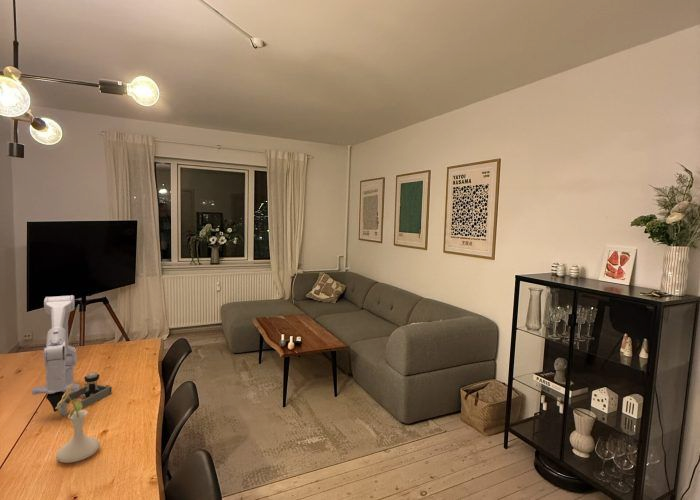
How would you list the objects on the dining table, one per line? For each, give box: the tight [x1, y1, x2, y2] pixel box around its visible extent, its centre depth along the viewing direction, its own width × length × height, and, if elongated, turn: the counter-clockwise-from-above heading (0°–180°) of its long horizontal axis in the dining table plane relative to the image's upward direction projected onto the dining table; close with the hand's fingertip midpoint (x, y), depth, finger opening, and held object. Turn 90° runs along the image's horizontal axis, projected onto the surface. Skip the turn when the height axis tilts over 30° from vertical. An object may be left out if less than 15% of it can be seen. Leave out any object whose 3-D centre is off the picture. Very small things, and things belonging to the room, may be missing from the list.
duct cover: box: [58, 399, 67, 417], centre depth 144 cm, size 12×1×5 cm, turn 49°
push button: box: [80, 371, 101, 399], centre depth 155 cm, size 7×5×10 cm
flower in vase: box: [55, 384, 101, 464], centre depth 116 cm, size 13×11×25 cm
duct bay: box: [65, 384, 113, 410], centre depth 154 cm, size 11×14×3 cm
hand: (56, 410), depth 140 cm, fingers closed
